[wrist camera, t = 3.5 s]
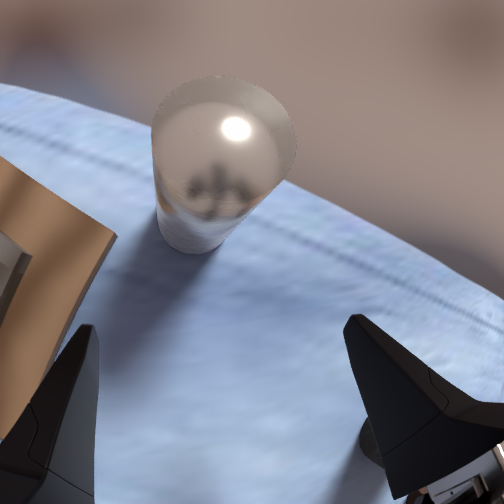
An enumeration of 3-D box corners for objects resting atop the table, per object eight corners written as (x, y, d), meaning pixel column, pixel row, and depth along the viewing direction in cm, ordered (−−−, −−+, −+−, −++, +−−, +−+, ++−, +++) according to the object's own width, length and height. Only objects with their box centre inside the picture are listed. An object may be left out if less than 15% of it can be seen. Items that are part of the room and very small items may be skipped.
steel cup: (243, 206, 25) (316, 121, 12) (208, 268, 23) (256, 231, 11) (182, 170, 24) (203, 57, 11) (143, 230, 22) (120, 151, 10)
